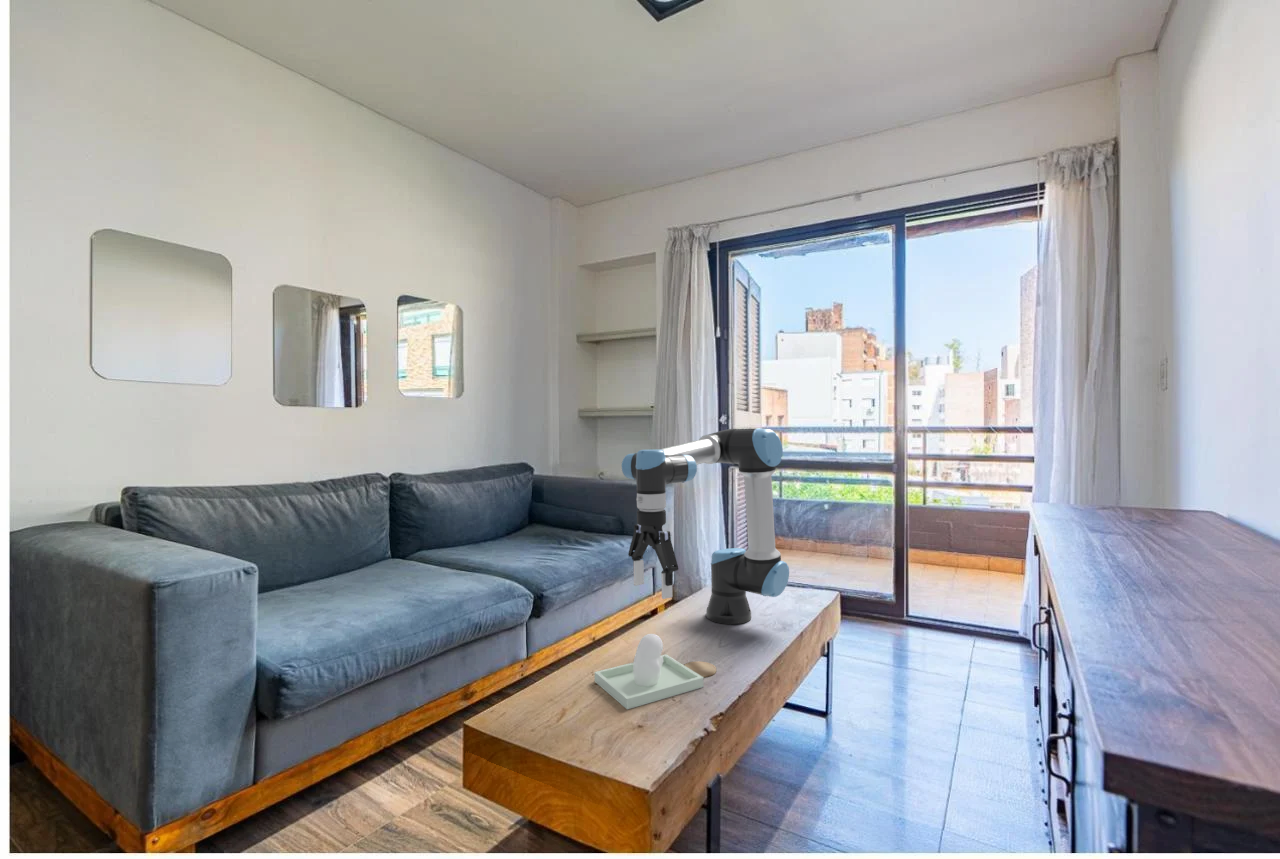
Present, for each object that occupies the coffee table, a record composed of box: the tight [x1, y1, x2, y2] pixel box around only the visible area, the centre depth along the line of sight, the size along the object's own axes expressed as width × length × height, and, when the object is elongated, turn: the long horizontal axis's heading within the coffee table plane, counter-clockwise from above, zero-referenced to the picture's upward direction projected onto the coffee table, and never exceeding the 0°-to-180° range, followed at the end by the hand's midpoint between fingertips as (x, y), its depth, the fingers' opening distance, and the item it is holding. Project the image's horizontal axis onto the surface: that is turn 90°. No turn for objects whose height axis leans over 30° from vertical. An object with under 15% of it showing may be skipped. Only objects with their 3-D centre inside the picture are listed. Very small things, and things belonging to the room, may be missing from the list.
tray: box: [594, 653, 705, 710], centre depth 144 cm, size 22×17×2 cm
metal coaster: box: [683, 660, 717, 678], centre depth 152 cm, size 9×9×1 cm
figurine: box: [632, 633, 664, 687], centre depth 144 cm, size 7×8×12 cm
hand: (652, 591), depth 147 cm, fingers open, 13 cm apart
